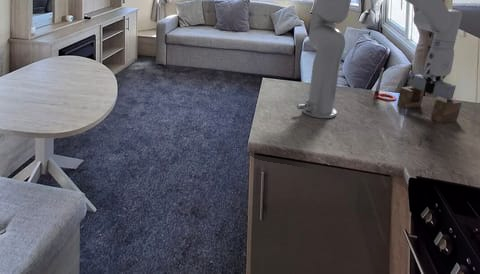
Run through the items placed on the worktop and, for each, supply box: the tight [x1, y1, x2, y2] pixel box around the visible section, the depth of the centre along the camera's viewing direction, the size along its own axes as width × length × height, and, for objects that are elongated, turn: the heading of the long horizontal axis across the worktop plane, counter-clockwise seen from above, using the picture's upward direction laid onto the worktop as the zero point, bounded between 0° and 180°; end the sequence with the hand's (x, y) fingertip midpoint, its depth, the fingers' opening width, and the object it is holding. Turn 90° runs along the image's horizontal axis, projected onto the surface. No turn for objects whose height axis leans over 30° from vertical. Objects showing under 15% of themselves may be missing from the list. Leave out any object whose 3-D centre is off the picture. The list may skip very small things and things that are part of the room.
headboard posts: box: [397, 85, 463, 124], centre depth 154 cm, size 22×8×8 cm, turn 26°
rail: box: [411, 73, 457, 100], centre depth 151 cm, size 17×3×5 cm, turn 26°
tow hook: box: [373, 67, 397, 102], centre depth 168 cm, size 8×13×9 cm
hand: (431, 91), depth 152 cm, fingers closed on rail, 3 cm apart
